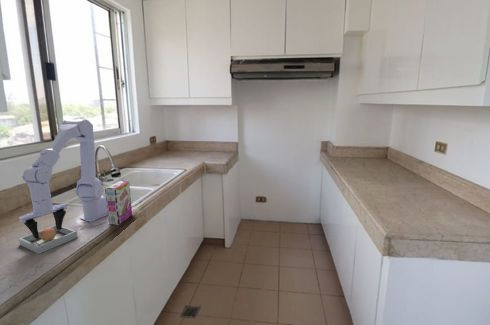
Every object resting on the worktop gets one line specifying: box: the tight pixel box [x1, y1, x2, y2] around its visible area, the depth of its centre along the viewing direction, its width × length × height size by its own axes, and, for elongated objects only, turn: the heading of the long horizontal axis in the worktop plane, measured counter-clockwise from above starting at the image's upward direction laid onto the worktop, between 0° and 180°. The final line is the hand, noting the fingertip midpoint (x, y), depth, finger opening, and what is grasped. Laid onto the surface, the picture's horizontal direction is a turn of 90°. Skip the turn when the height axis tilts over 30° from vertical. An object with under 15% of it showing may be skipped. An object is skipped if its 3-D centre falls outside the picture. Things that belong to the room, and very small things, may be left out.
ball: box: [39, 226, 57, 241], centre depth 100 cm, size 5×5×5 cm
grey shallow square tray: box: [18, 224, 78, 255], centre depth 100 cm, size 13×13×2 cm
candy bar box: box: [104, 180, 133, 226], centre depth 117 cm, size 11×5×16 cm, turn 174°
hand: (48, 233), depth 100 cm, fingers open, 7 cm apart
